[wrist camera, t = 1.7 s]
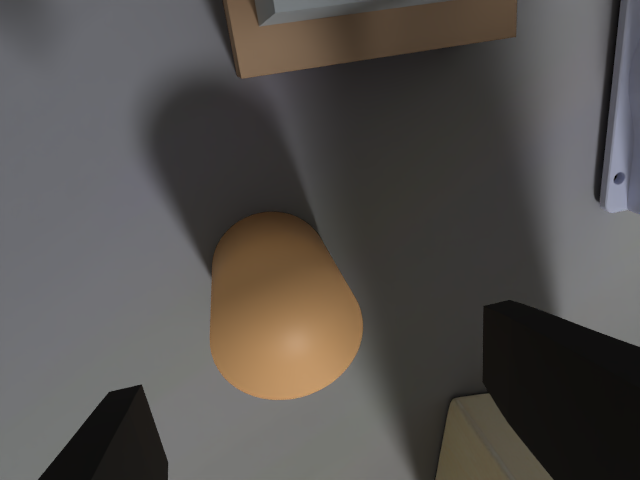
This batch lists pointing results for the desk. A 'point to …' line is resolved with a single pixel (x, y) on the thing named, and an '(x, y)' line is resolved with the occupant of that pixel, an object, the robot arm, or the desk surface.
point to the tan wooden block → (484, 445)
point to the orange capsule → (280, 309)
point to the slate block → (323, 8)
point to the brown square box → (361, 34)
